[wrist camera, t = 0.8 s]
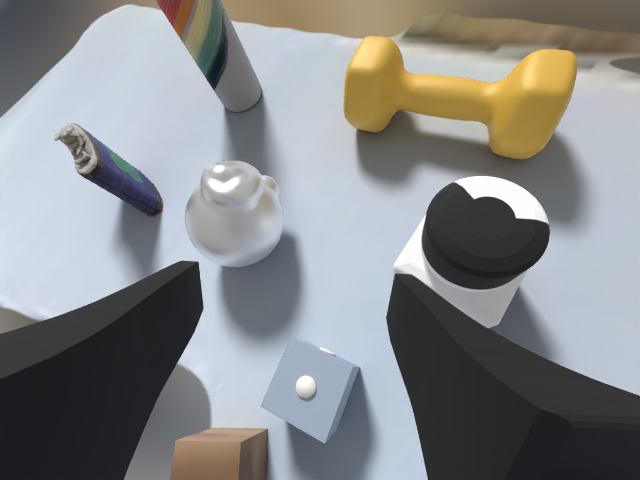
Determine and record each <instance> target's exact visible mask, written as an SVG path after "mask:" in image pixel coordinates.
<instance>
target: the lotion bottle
mask: <svg viewBox="0 0 640 480" xmlns="http://www.w3.org/2000/svg"><path fill="white" fill-rule="evenodd" d="M156 2H157V3H158V5H159V6H160V8H161V9H162V11H163V12H164V14H165V16H166V17H167V19H168V20H169V22H170V23H171V25H172V26H173V28H174V29H175V31H176V33H177V34H178V36H179V37H180V39H181V40H182V42H183V43H184V45H185V47H186V48H187V50H188V51H189V53H190V54H191V56H192V57H193V59H194V60H195V62H196V64H197V65H198V67H199V68H200V70H201V71H202V73H203V74H204V76H205V77H206V79H207V81H208V82H209V84H210V85H211V87H212V88H213V90H214V91H215V93H216V94H217V96H218V98H219V99H220V101H221V102H222V103H223V105H224V106H225V107H226V108H227V109H228V110H230V111H233V112H241V111H245V110H247V109H249V108H251V107H252V106H254V105H255V104H256V103H257V102H258V100H259V99H260V97H261V93H262V90H261V86H260V83H259V81H258V79H257V76H256V74H255V72H254V70H253V68H252V66H251V63H250V61H249V59H248V57H247V55H246V53H245V51H244V48H243V46H242V44H241V42H240V40H239V38H238V36H237V33H236V31H235V29H234V27H233V25H232V23H231V21H230V19H229V17H228V14H227V13H226V10H225V8H224V6H223V3H222V1H221V0H156Z"/></svg>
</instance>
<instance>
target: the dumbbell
mask: <svg viewBox="0 0 640 480" xmlns="http://www.w3.org/2000/svg"><path fill="white" fill-rule="evenodd" d="M576 74H577V59H576V57H575V54H574V53H572V52H570V51H565V50H553V49H544V50H538V51H535V52H533V53H531V54H530V55H528V56H527V57H526V58H524V59H523V60H522V61H521V62H520V63H519V64H518V65H517V66H516V67H515V68H514V70H513V71H512V72H511V73H510V74H509V75H508V76H507V77H506V78H504V79H503V80H501V81H499V82H495V83H487V82H482V81H478V80H474V79H467V78H459V77H451V76H441V75H416V74H411V73H409V72H407V71H406V70H405V68H404V63H403V58H402V54H401V52H400V50H399V48H398V46H397V45H396V43H395V42H394V41H393V40H391V39H389V38H386V37H378V36H369V37H366V38H365V39H363V41H362V42H361V43H360V44H359V46H358V48H357V50H356V51H355V53H354V55H353V57H352V59H351V61H350V63H349V65H348V68H347V71H346V77H345V87H344V115H345V118H346V120H347V121H348V122H349V123H350V124H351V125H352V126H354V127H355V128H357V129H360V130H364V131H370V132H379V131H381V130H383V129H384V128H385V127H386V126H387V125H388V123H389V122H390V120H391V118H392V116H393V115H394V114H395V113H396V112H397V111H400V110H406V111H410V112H414V113H417V114H423V115H428V116H434V117H440V118H447V119H454V120H462V121H477V122H481V123H483V124H485V125H486V126H487V128H488V133H489V145H490V148H491V150H492V151H493V152H494V153H496V154H497V155H500V156H504V157H509V158H514V159H527V158H530V157H532V156H534V155H536V154H537V153H538V152H540V151H541V150H542V149H543V148H544V147H545V146H546V144H547V143H548V141H549V140H550V138H551V137H552V135H553V133H554V131H555V129H556V128H557V126H558V124H559V122H560V120H561V118H562V116H563V115H564V113H565V110H566V108H567V106H568V104H569V101H570V99H571V96H572V93H573V89H574V84H575V80H576Z"/></svg>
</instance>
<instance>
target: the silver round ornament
mask: <svg viewBox="0 0 640 480" xmlns="http://www.w3.org/2000/svg"><path fill="white" fill-rule="evenodd" d="M279 194H280V189H279V186H278V184H277V183H276V181H275V180H274V179H272V178H271V177H269V176H267V175H261V173H260V172H259V171H258V170H257V169H256V168H255V167H253V166H252V165H250V164H248V163H246V162H242V161H235V160H234V161H220V162H216V163H213V164H211V165H210V166H208V167H207V168H206V169H205V170H204V172H203V174H202V176H201V184H200V185H199V186H198V187H197V188H196V189H195V190H194V191H193V193H192V195H191V196H190V198H189V200H188V203H187V206H186V211H185V226H186V231H187V234H188V236H189V239H190V241H191V242H192V244H193V245H194V247H195V248H196V249H197V250H198V252H199V253H200V254H202V255H203V256H204V257H205V258H207V259H208V260H210V261H212V262H214V263H217V264H219V265H223V266H228V267H243V266H248V265H251V264H254V263H256V262H258V261H260V260H262V259H263V258H265V257H266V256H267V255H268V254H270V253H271V252H272V250H273V249H274V248H275V247H276V245H277V244H278V242H279V240H280V237H281V235H282V231H283V226H284V214H283V209H282V205H281V203H280V200H279Z"/></svg>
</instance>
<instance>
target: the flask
mask: <svg viewBox="0 0 640 480" xmlns="http://www.w3.org/2000/svg"><path fill="white" fill-rule="evenodd" d="M59 139H60V140H61V141H62V142H63V143H64V144H65V145H66V146H67V147H68V149H69V150H70V151H71V153H72V155H73V157H74V160H75V162H74V163H75V165H76V167H75V168H76V170H77V172H78V174H80V175H81V176H83V177H84V178H86V179H88V180H90V181H91V182H92V183H95V184H97V185H98V186H100V187H101V188H103V189H105V190H107V191H108V192H110V193H112V194H114V195H115V196H117V197H118V198H120V199H122V200H123V201H125V202H127V203H129V204H131V205H132V206H134V207H136V208H137V209H139V210H140V211H142V212H144V213H146V214H147V215H148V216H154V217H155V215H157V214H158V213H159V212H160V211H161V209H162V208H163V203H162V198H161V196H160V194H159V192H158V190H157V188H156V187H155V186H154V184H153V183H151V182H150V180H148V178H147V177H145V175H144V174H142V173H141V172H140V171H139V170H137V169H136V168H134V167H133V166H131V165H130V164H129V163H127V162H126V161H125V160H123V159H122V158H121V157H120V156H118V155H117V154H116V153H114V152H113V151H112V150H110V149H109V148H108V147H106V146H105V145H104V144H103V143H101V142H100V141H98V140H97V139H96V138H95V137H93V136H92V135H91V134H90V133H89V132H87V131H86V130H84V129H83V128H81V127H80V126H79V125H78V124H74V123H70V124H67V125H66V126H65V127H63V128H62V129H61V131H60V132H59V134H56V135H55V139H54V140H55V141H57V140H59Z"/></svg>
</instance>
